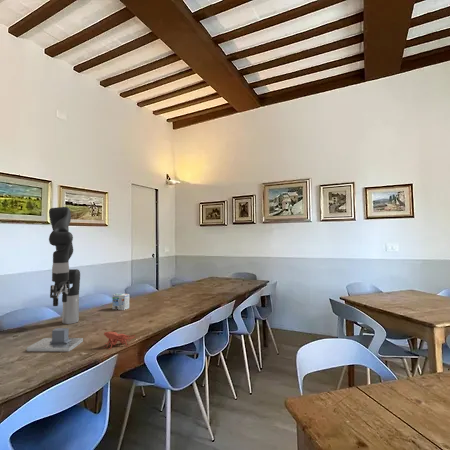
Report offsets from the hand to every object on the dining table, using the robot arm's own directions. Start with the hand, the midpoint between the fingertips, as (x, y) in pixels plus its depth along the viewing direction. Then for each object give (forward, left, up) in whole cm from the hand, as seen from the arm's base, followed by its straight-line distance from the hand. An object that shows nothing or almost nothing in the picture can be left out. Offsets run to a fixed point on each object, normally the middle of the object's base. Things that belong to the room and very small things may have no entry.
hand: (60, 304), depth 157 cm
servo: (+2, +1, -20) cm, 20 cm away
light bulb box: (-80, +3, -21) cm, 83 cm away
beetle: (-1, +30, -21) cm, 36 cm away
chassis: (+2, -1, -20) cm, 20 cm away
